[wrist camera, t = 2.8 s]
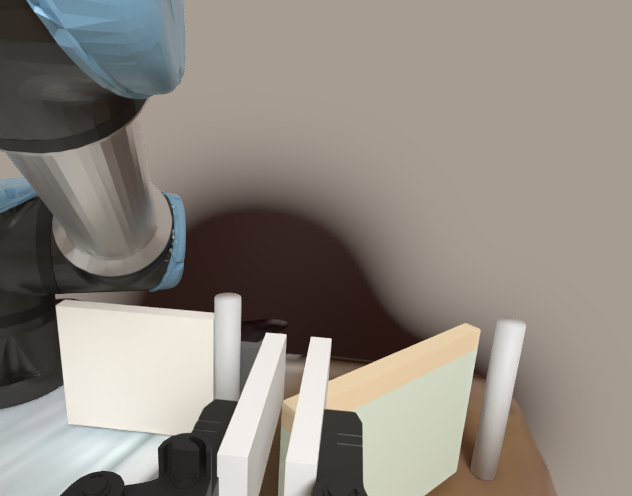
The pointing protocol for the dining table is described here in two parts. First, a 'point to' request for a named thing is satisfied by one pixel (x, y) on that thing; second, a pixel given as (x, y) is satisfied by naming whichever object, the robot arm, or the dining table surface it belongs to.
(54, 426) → the dining table surface
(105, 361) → the fence
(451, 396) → the gate
